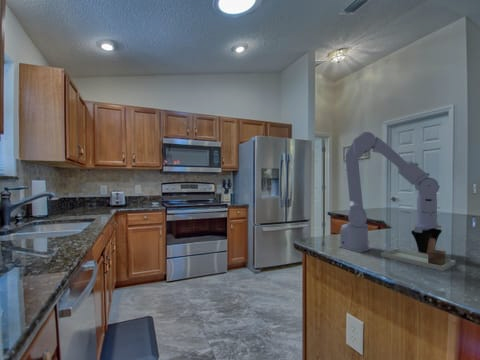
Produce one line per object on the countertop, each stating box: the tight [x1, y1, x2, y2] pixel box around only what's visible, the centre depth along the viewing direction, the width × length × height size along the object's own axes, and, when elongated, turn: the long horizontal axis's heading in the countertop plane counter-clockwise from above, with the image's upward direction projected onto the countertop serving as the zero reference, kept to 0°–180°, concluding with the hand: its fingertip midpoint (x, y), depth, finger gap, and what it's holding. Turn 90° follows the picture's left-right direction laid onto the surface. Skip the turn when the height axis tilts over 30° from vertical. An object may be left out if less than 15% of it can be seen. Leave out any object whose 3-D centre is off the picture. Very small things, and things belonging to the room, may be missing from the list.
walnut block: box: [428, 249, 446, 266], centre depth 79 cm, size 4×4×4 cm
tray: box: [380, 247, 456, 272], centre depth 83 cm, size 17×10×2 cm, turn 35°
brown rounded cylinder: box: [417, 237, 437, 255], centre depth 90 cm, size 5×5×6 cm
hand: (426, 250), depth 90 cm, fingers open, 6 cm apart
